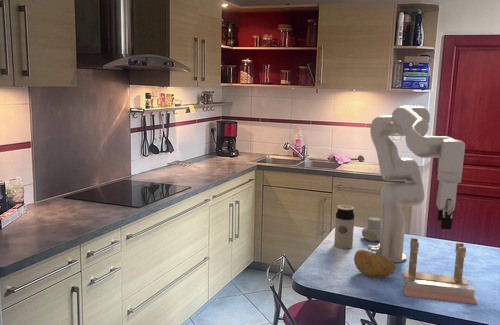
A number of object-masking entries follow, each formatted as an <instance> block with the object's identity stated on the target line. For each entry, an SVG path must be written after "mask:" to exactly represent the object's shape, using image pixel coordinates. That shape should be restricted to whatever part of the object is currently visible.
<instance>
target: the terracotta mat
mask: <svg viewBox="0 0 500 325" xmlns="http://www.w3.org/2000/svg"><path fill="white" fill-rule="evenodd" d="M405 284H406V282H402V285H403V286H402V287H403V293H404V296H405V297H414V298H421V299H428V300H429V299H430V300H438V301H445V302H453V303H460V304H461V303H462V304H469V305H478V302H477V299H476V297H475V296H474V298H467V297H459V296H451V295H443V294H435V293H427V292H419V291H411V290H406V288H405Z"/></svg>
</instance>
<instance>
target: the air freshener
mask: <svg viewBox="0 0 500 325" xmlns="http://www.w3.org/2000/svg"><path fill="white" fill-rule="evenodd" d="M380 233H381V218H379V217H374V216H373V217H368V218H367V226H365V227H363V228H362V231H361V235H362V237H363V238H364V239H366V240H367V241H369V242H380Z"/></svg>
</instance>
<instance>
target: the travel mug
mask: <svg viewBox="0 0 500 325" xmlns="http://www.w3.org/2000/svg"><path fill="white" fill-rule="evenodd" d="M336 208H337V212H336V213H335V224H334V226H335V228H334V242H333V243H334V244H333V245H334V247H336V248H338V249H343V250H347V249H351V248H353V245H354V244H353V243H354V230H355V229H354V228H355V227H354V226H355V213H354V210H355V207H354V206H353V205H348V204H339V205H337V206H336Z"/></svg>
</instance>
